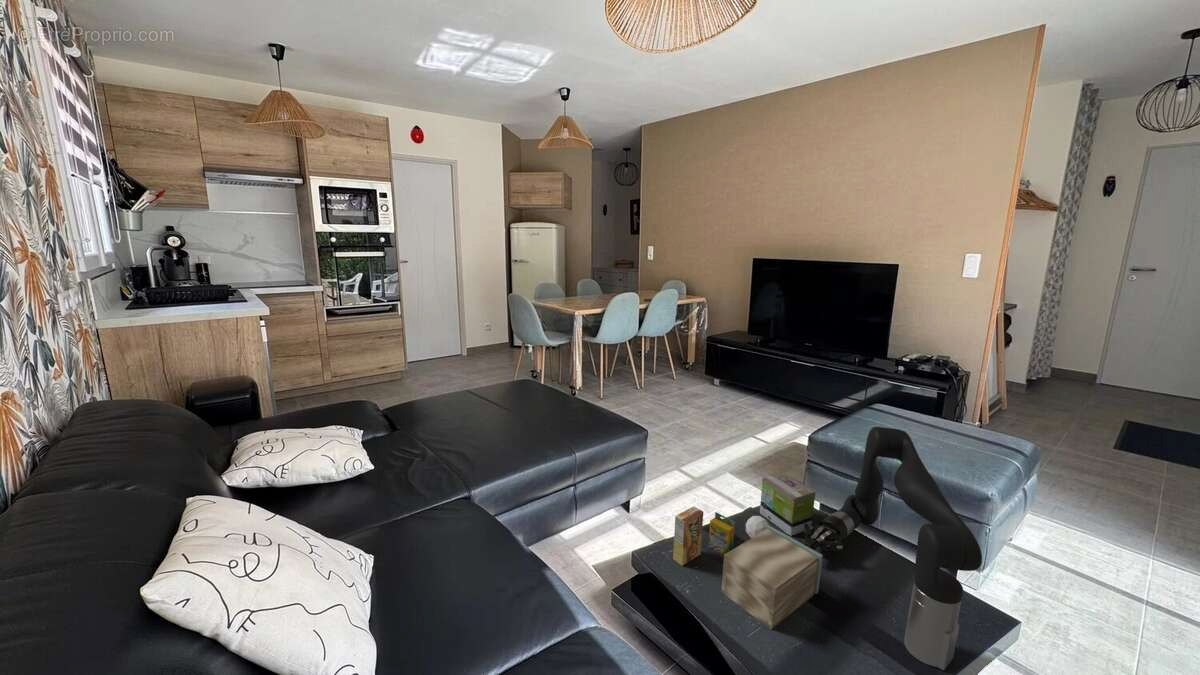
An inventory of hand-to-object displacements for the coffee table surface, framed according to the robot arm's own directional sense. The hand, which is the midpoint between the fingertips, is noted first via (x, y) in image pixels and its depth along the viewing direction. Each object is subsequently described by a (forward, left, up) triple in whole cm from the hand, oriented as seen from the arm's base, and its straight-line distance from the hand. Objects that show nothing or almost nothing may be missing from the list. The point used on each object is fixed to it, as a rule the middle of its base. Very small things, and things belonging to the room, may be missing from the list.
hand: (807, 547), depth 143 cm
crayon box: (+20, +16, -6) cm, 26 cm away
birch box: (0, +20, -6) cm, 21 cm away
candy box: (+24, +27, -6) cm, 37 cm away
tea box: (+17, -15, -6) cm, 23 cm away
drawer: (0, +18, -5) cm, 19 cm away
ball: (+17, +1, -6) cm, 18 cm away
